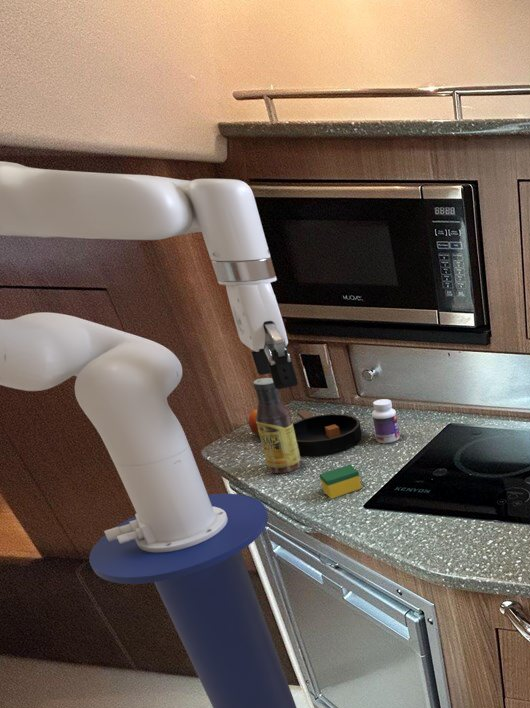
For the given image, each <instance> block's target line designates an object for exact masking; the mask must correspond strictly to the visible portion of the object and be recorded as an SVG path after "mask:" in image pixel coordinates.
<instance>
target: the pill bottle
mask: <svg viewBox="0 0 530 708" xmlns="http://www.w3.org/2000/svg"><path fill="white" fill-rule="evenodd" d="M372 406H373V411H372V412H371V417H372V423H373V428H374V435H375V439H376V440H375V441H377V442H378V443H381V444H391V443H394V442H397V441H398V440H400V437H401V436H400V435H401V434H400V428H399V422H398V417H397V411H396V410H395V409H394V408H393V404H392V400H390V399H387V398H382V399H377V400H374V401H373V402H372Z"/></svg>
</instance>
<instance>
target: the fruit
mask: <svg viewBox="0 0 530 708" xmlns="http://www.w3.org/2000/svg"><path fill="white" fill-rule="evenodd" d="M256 416H257V409H253V410H252V411H251V412H250V414H249V416H248V427H249V428H250V431H251V432H252V433H253V434H254V436H255V437H259V438H260V435H259V431H258V428H257V423H256Z"/></svg>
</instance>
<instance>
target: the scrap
mask: <svg viewBox="0 0 530 708" xmlns="http://www.w3.org/2000/svg"><path fill="white" fill-rule="evenodd" d="M325 430H326V434H327V436H328V437H329V438H333V437H337V436H341V434H340V430H339V427H338V426H337V425H335V424H334V425H330V426H327V427H325Z"/></svg>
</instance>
